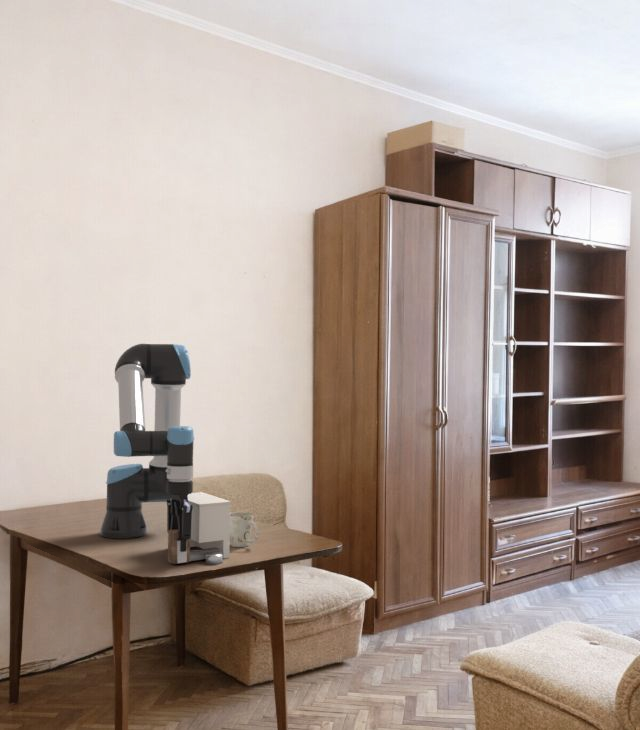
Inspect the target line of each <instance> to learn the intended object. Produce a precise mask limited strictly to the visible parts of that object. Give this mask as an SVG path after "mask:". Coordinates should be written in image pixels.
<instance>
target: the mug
mask: <svg viewBox="0 0 640 730" xmlns="http://www.w3.org/2000/svg"><path fill="white" fill-rule="evenodd" d="M252 528H253V530H254V537H253V538H252V539H251V535H252ZM258 538H259V528H258V526H257V524H256V523H255V522H254V513H253V512H247V511H234V512H230V547H233V548H246V547H249V546H250V544H253V543H254V542H256V541H257V540H258Z"/></svg>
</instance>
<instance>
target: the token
mask: <svg viewBox="0 0 640 730" xmlns="http://www.w3.org/2000/svg"><path fill="white" fill-rule="evenodd" d="M223 559H224V558H223V554H222V553H218V552H211V553H206V554H205V559H204V563H205V564H207V565H214V566H215V565H220V564H223V561H224V560H223Z"/></svg>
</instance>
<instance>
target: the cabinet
mask: <svg viewBox="0 0 640 730" xmlns="http://www.w3.org/2000/svg"><path fill="white" fill-rule="evenodd" d="M188 504H189V505H192V506H193V509H192V519H191V538H190V548H200V549H208V548H215V547H216V548H219V549H220V553H222V554H223V559H228V558H230V552H231V551H230V547H231V545H230V513H231V505H232V501H230V500H227V499H224V498H222V497H217V496H215V495H212V494H209V493H206V492H203V491H200V492H192V493H191V494H188Z"/></svg>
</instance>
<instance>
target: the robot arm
mask: <svg viewBox="0 0 640 730" xmlns="http://www.w3.org/2000/svg"><path fill="white" fill-rule="evenodd" d="M190 361H191V359H190V355H189V351H188V348H187V347H186V346H185V345H183V344H174V343H159V344H158V343H157V344H156V343H139V344H135V345H132V346H131V347H129V348H128V349H126V350H124V352H123V353H122V354H121V355H120V356H119V358H118V360H117V362H116V364H115V367H114V379H115V381H116V383H117V384H118V408H119V409H118V410H119V411H118V413H119V414H118V417H119V430H117V431H114V434H113V454H114V455H115V456H116V457H124V458H126V457H127V458H130V457H153V458H152V459H151V460H150V461H149V462H148V467H144V466H143V464H142V463H127V464H123V465H122V464H121V465H117V466H113V467H111V468H110V469H109V470H108V471H107V474H106V477H107V478H106V482H105V483H106V508H105V509H106V510H105V514H104V518H103V521H102V524H101V527H100V536H101V537H102V538H107V539H133V538H140V537H143V536H146V535H147V531H148V530H147V524H146V520H145V517H144V514H143V511H142V510H143V509H142V508H143V505H142V504H143V503H165V502H166V507H167V509H166V510H167V515H166V518H167V521H166V522H167V523H166V525H167V526H166V527H167V528H166V529H167V531H166V532H167V533H168V530H174V529H178V535H179V539H176V540H177V563H178V564H184V562H185V563H188V562H187V540H188V539H190V538H191V519H192V509H193V506H192V505H189V504H188V494H191V493H194V492H193V490H194V488H193V487H194V482H193V478H194V440H195V436H194V429H193V427H192V426H185V425H184V426H183V425H181V407H182V406H181V403H182V402H181V400H182V389H183V387H184V386H186V384H187V381H186V380H190V379H191V362H190ZM145 379H150V384H151V385H152V386H153V388H154V389H155V393H154V395H155V397H154V398H155V399H154V430H146V421H145V419H146V418H145V404H144V387H143V386H144V385H143V382H144V381H145Z"/></svg>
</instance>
